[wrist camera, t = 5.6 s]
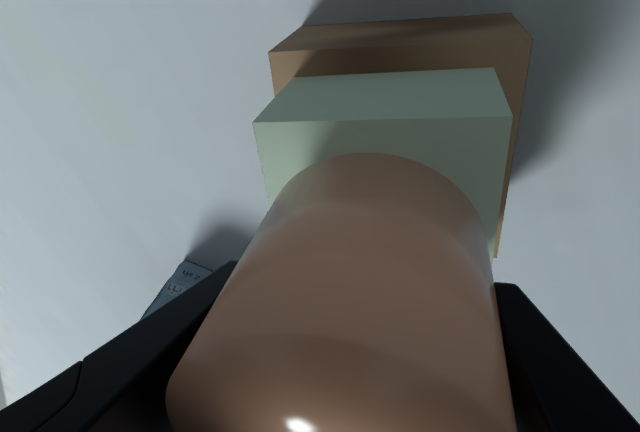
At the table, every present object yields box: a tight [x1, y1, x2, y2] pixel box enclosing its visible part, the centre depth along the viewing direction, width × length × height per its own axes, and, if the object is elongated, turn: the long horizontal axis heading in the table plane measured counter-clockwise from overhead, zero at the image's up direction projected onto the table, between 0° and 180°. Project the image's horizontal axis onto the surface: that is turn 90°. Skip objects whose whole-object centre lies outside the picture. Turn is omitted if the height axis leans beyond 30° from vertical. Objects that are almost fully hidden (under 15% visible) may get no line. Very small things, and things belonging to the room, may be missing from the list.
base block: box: [268, 13, 533, 258], centre depth 15 cm, size 7×7×4 cm
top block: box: [252, 67, 513, 268], centre depth 12 cm, size 6×6×4 cm
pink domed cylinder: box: [165, 152, 517, 432], centre depth 8 cm, size 5×5×4 cm
